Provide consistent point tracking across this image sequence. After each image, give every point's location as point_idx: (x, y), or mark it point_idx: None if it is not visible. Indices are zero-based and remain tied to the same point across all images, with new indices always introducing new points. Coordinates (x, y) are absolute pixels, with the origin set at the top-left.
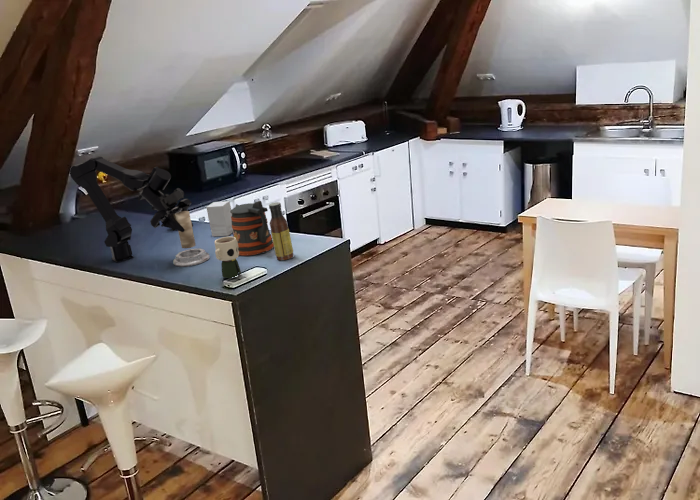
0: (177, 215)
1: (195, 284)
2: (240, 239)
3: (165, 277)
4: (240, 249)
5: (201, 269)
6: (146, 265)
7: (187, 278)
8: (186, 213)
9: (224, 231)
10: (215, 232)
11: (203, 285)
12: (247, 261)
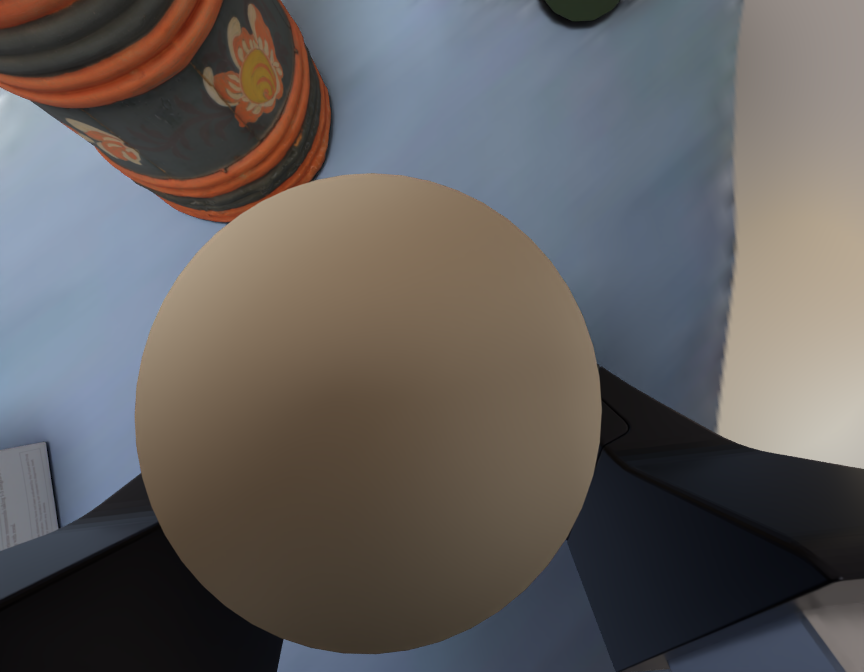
0: (592, 389)
1: (713, 94)
2: (277, 40)
3: (687, 328)
4: (315, 101)
5: (536, 211)
6: (567, 611)
7: (661, 193)
8: (387, 184)
9: (12, 466)
10: (26, 529)
11: (710, 47)
12: (387, 55)
